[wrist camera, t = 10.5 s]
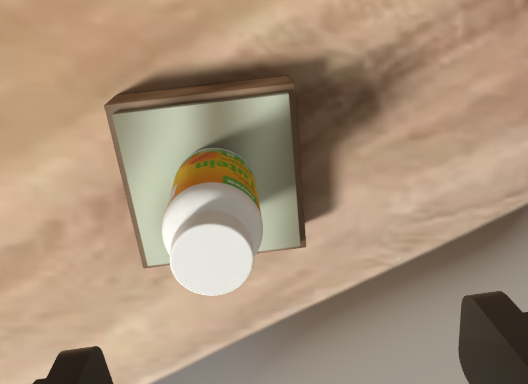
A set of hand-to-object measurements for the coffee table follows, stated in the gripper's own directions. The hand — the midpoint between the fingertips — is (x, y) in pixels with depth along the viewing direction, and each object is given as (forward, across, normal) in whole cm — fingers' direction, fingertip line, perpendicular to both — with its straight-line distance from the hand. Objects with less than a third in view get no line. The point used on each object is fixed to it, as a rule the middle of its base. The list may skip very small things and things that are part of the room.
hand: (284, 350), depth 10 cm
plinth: (+24, +3, +4) cm, 25 cm away
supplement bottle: (+20, +3, +4) cm, 21 cm away
